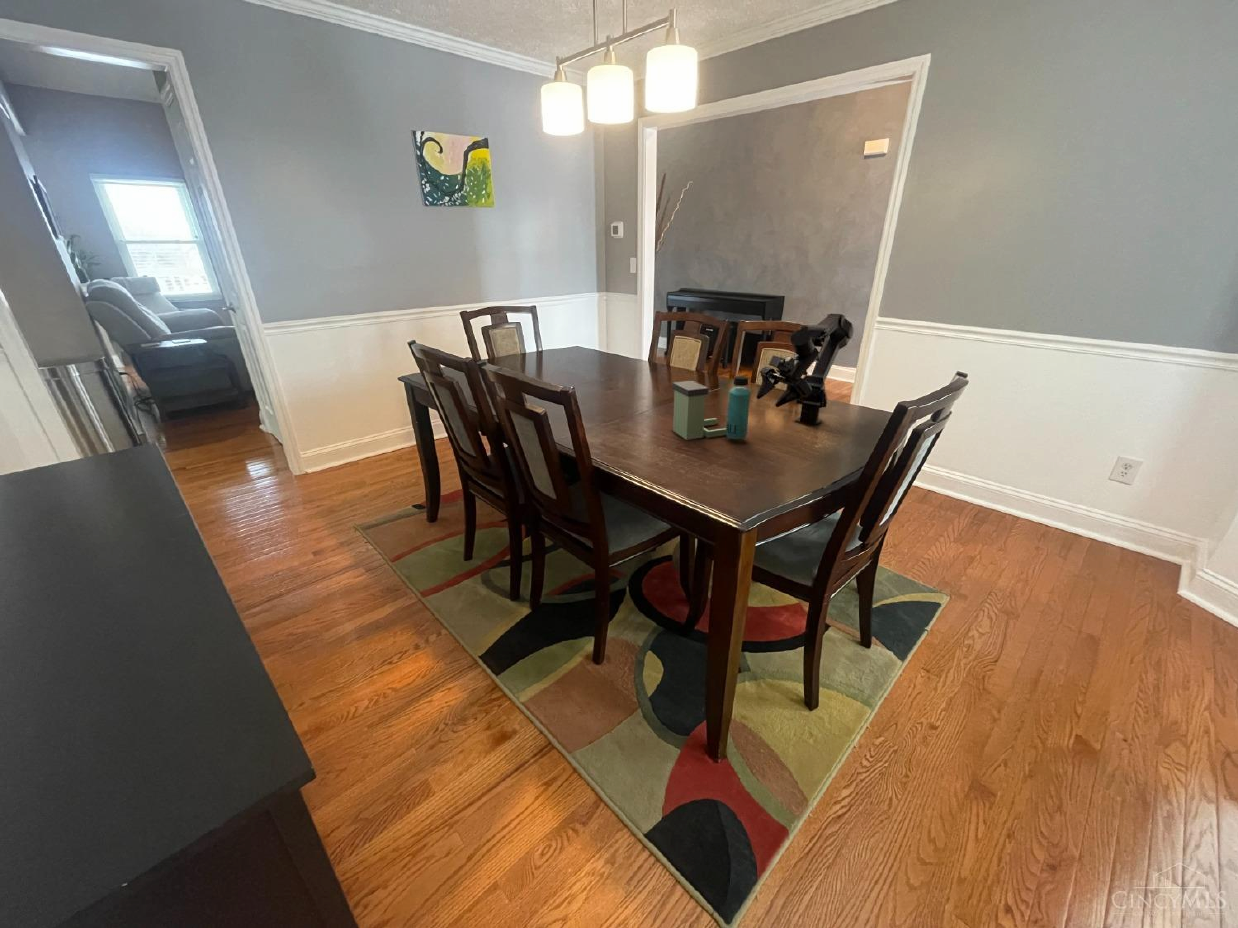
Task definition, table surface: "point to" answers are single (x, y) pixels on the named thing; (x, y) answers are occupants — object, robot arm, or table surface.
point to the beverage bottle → (738, 409)
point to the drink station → (692, 411)
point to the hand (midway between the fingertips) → (766, 402)
